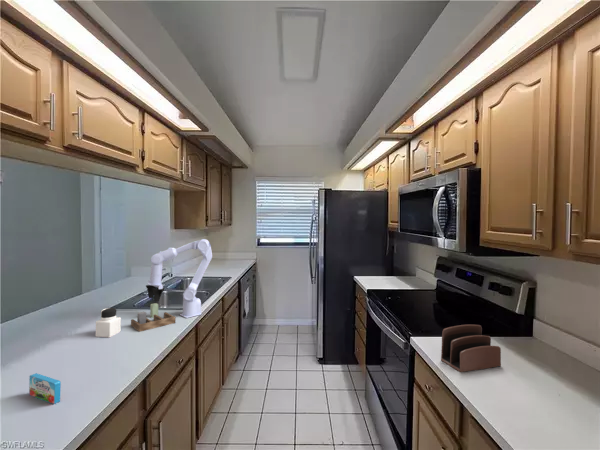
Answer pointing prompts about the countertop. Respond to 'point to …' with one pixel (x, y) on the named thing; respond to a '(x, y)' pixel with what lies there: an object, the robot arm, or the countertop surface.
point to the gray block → (141, 317)
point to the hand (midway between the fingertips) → (153, 299)
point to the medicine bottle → (108, 323)
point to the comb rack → (153, 322)
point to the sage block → (153, 310)
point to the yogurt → (44, 388)
